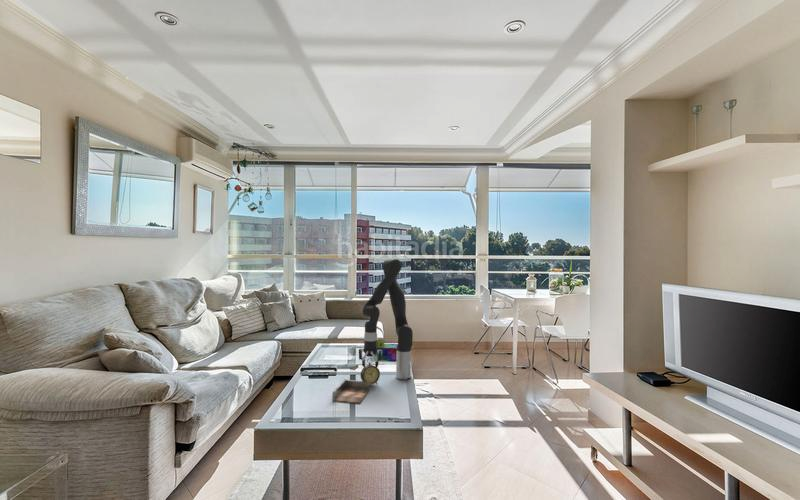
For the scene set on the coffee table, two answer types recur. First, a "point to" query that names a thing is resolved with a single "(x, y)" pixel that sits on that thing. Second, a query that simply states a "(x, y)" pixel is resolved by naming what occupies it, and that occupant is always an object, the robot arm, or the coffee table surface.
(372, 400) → the coffee table surface
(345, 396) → the walnut plate
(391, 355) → the block puzzle
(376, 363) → the robot arm
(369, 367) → the alarm clock
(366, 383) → the corner walls
